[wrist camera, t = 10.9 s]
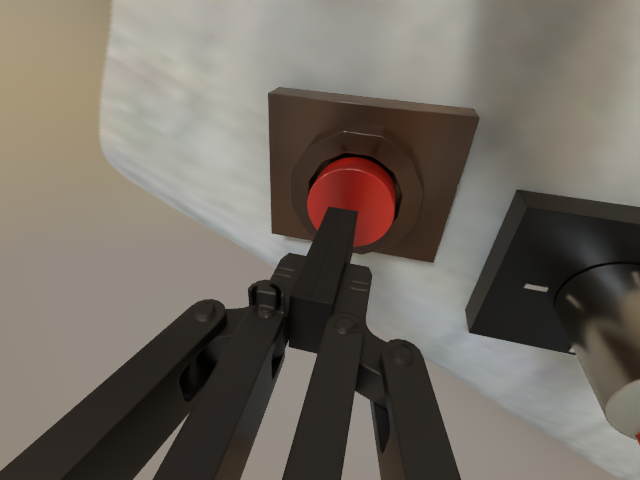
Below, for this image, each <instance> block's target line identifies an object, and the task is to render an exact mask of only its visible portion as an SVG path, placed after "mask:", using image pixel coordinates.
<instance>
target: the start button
mask: <svg viewBox="0 0 640 480" xmlns="http://www.w3.org/2000/svg"><path fill="white" fill-rule="evenodd" d="M395 205H396V190H395V186H394V183H393V181H392V179H391V177H390V176H389V174H388V173H387V172H386V171H385V170H384V169H383V168H382V167H381V166H379V165H378V164H376V163H374V162H372V161H370V160H367V159H364V158H359V157H347V158H342V159H339V160H336V161H334V162H332V163H330V164H329V165H328V166H326V167H325V168H324V169H323V170H322V172H321V173H320V174H319V176H318V178H317V179H316V181H315V183H314V184H313V186H312V188H311V190H310V192H309V195H308V201H307V208H308V213H309V217H310V219H311V221H312V223H313V225H314V227H315V228H316V229H317V230H318V229H319V226H320V224H321V222H322V220H323V217H324V215H325V213H326V210H327V208H328V206H329V207H336V208H342V209H348V210H354V211H358V216H357V223H356V230H355V237H354V243H353V247H356V246H364V245H368V244H371V243H373V242H375V241H377V240H378V239H380V238H381V237H382V236H383V235H384V234H385V233H386V232H387V231H388V230H389V228H390V227H391V225H392V222H393V219H394V214H395Z"/></svg>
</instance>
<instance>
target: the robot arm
mask: <svg viewBox="0 0 640 480" xmlns="http://www.w3.org/2000/svg"><path fill="white" fill-rule="evenodd" d="M357 216H358V211H354V210H348V209H342V208H336V207H329V206H328V208H327V210H326V213H325V215H324V217H323V220H322V222H321V224H320V226H319V229H318V231H317V233H316V236H315V238H314V240H313V242H312V245H311V247H310V249H309V252H308V254H307V256H303V255H298V254H292V253H289V254H287V255H286V256H284V257H283V258H282V259H281V260H280V262H279V264H278V266H277V268H276V269H275V271H274V274H273V275H272V277H271V279H270V280H262V281H258V282H256V283H254V284H252V285H251V286H250V287H249V288H248V296H249V306H248V307H245V308H239V309H225V307H224V305H223V304H222V303H221V302H219V301H217V300H213V299H208V300H202V301H199V302H197V303H195V304H194V305H192V306H191V307H190V308H188V309H187V310H186V311H185V312H184V313H183V314H182V315H180V316H179V317H178V318H177V319H176V320H175V321H174V322H172V323H171V324H170V325H169V326H168V327H167V328H166V329H164V330H163V331H162V332H161V333H160V334H158V335H157V336H156V337H155V338H154V339H153V340H152V341H150V342H149V343H148V344H147V345H146V346H145V347H144V348H142V349H141V350H140V351H139V352H138V353H136V355H134V356H133V357H132V358H131V359H130V360H128V361H127V362H126V363H125V364H124V365H123V366H121V367H120V368H119V369H118V370H117V371H116V372H115V373H113V374H112V375H111V376H110V377H109V378H108V379H106V380H105V381H104V382H103V383H102V384H101V385H99V386H98V387H97V388H96V389H95V390H94V391H93V392H91V393H90V394H89V395H88V396H87V397H86V398H84V399H83V400H82V401H81V402H80V403H79V404H78V405H76V406H75V407H74V408H73V409H72V410H71V411H70V412H68V413H67V414H66V415H65V416H64V417H63V418H61V419H60V420H59V421H58V422H57V423H56V424H54V425H53V426H52V427H51V428H50V429H49V430H47V431H46V432H45V433H44V434H43V435H42V436H41V437H39V438H38V439H37V440H36V441H35V442H34V443H32V444H31V445H30V446H29V447H28V448H27V449H26V450H24V451H23V452H22V453H21V454H20V455H19V456H17V457H16V458H15V459H14V460H13V461H12V462H11V463H9V464H8V465H7V466H6V467H5V468H4V469H2V470H1V471H0V480H133V479H134V478H135V476H136V475H137V474H138V473H139V472H140V470H141V469H142V468H143V467H144V466H145V464H146V463H147V462H148V461H149V460H150V459H151V457H152V456H153V455H154V454H155V453H156V452H157V450H158V449H159V448H160V447H161V446H162V444H163V443H164V442H165V441H166V440H167V438H168V437H169V436H170V435H171V434H172V433H173V431H174V430H175V429H176V428H177V427H178V425H179V424H180V423H181V422H182V421H183V420H184V418H185V417H186V416H187V415H188V414H189V415H188V417H187V419H186V420H185V422H184V424H183V426H182V428H181V429H180V431H179V433H178V435H177V437H176V438H175V440H174V442H173V444H172V446H171V448H170V449H169V451H168V453H167V455H166V456H165V458H164V460H163V462H162V464H161V465H160V467H159V469H158V471H157V473H156V474H155V476H154V478H153V480H240V478H241V476H242V473H243V470H244V468H245V465H246V462H247V459H248V457H249V454H250V451H251V448H252V446H253V443H254V440H255V438H256V435H257V432H258V430H259V427H260V424H261V421H262V418H263V416H264V413H265V410H266V408H267V405H268V402H269V400H270V397H271V394H272V392H273V389H274V386H275V383H276V380H277V378H278V375H279V372H280V370H281V367H282V364H283V361H284V357H285V348H286V345H287V343H288V340H289V347H291V348H296V349H300V350H304V351H308V352H313V353H317V358H316V361H315V365H314V368H313V372H312V375H311V379H310V383H309V386H308V390H307V393H306V397H305V400H304V404H303V407H302V411H301V414H300V418H299V421H298V425H297V428H296V432H295V436H294V440H293V443H292V446H291V450H290V453H289V457H288V460H287V464H286V467H285V471H284V474H283V478H282V480H341V476H342V469H343V463H344V456H345V450H346V444H347V437H348V431H349V425H350V418H351V412H352V405H353V399H354V393H355V391H356V392H358V393H360V394H361V395H363V396H364V397H366V398H368V399H370V404H371V411H372V419H373V425H374V433H375V440H376V447H377V454H378V461H379V468H380V476H381V480H461V478H460V475H459V472H458V468H457V465H456V462H455V458H454V455H453V452H452V449H451V446H450V442H449V439H448V436H447V433H446V430H445V426H444V423H443V420H442V416H441V414H440V410H439V407H438V404H437V400H436V397H435V394H434V391H433V388H432V384H431V381H430V378H429V375H428V371H427V368H426V365H425V362H424V358H423V356H422V354H421V352H420V350H419V349H418V348H417V347H416V346H415V345H414V344H412V343H410V342H408V341H406V340H401V339H395V340H390V341H389V342H385V341H383V340H381V339H379V338H378V337H376V336H375V335H373V334H372V333H371V332H370V330H369V329H368V327H367V325H366V313H367V306H368V300H369V293H370V287H371V280H372V274H371V272H370V269H369V267H366V266H360V265H355V264H350V261H351V257H352V250H353V243H354V237H355V230H356V223H357Z"/></svg>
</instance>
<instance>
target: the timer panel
mask: <svg viewBox="0 0 640 480" xmlns="http://www.w3.org/2000/svg"><path fill="white" fill-rule="evenodd" d="M610 264H635V265H640V207H633V206H626V205H619V204H612V203H605V202H599V201H592V200H585V199H578V198H571V197H564V196H557V195H550V194H543V193H537V192H530V191H523V190H517V191H516V194H515V196H514V198H513V201H512V203H511V205H510V208H509V210H508V212H507V214H506V217H505V219H504V221H503V224H502V226H501V228H500V231H499V233H498V235H497V238H496V240H495V242H494V245H493V247H492V249H491V252H490V254H489V256H488V258H487V261H486V263H485V265H484V268H483V270H482V272H481V275H480V277H479V279H478V282H477V284H476V286H475V289H474V291H473V293H472V295H471V298H470V300H469V302H468V305H467V307H466V309H465V311H466V317H467V323H468V329H469V333H473V334H477V335H482V336H487V337H492V338H496V339H501V340H506V341H511V342H515V343H520V344H525V345H530V346H534V347H539V348H544V349H549V350H553V351H558V352H563V353H568V354H572V355H576V354H575V351H574V349H573V347H572V345H571V343H570V341H569V339H568V337H567V335H566V332H565V330H564V328H563V326H562V324H561V322H560V320H559V318H558V316H557V313H556V310H555V300H556V297H557V294H558V293H559V291H560V290H561V288H562V287H563V286H564V285H565V284H566V283H567V282H568V281H569V280H571V279H572V278H574V277H575V276H577V275H579V274H580V273H583V272H585V271H587V270H590V269H592V268H596V267H599V266H604V265H610Z"/></svg>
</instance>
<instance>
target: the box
mask: <svg viewBox="0 0 640 480" xmlns="http://www.w3.org/2000/svg"><path fill="white" fill-rule="evenodd" d="M268 101H269V142H270V182H271V222H272V233H273V234H278V235H284V236H289V237H295V238H300V239H305V240H311V241H313V240H314V238H315V236H316V233H317V231H318V230H317V229H316V228H315V227H314V225H313V223H312V221H311V219H310V217H309V213H308V208H307V201H308V195H309V192H310V190H311V188H312V186H313V184H314V183H315V181H316V179H317V178H318V176H319V174H320V173H321V172H322V170H323V169H324V168H325V167H326V166H328V165H329V164H330V163H332V162H334V161H336V160H339V159H342V158H347V157H359V158H364V159H367V160H370V161H372V162H374V163H376V164H378V165H379V166H381V167H382V168H383V169H384V170H385V171H386V172H387V173H388V174H389V176H390V177H391V179H392V181H393V183H394V186H395V190H396V205H395V214H394V219H393V222H392V225H391V227H390V228H389V230H388V231H387V232H386V233H385V234H384V235H383V236H382V237H381V238H380V239H378V240H377V241H375V242H373V243H371V244H368V245H364V246H356V247H353V250H352V253H357V254H366V253H369V252H376V253H382V254H387V255H393V256H398V257H404V258H409V259H415V260H420V261H426V262H431V263H433V262H434V259H435V256H436V252H437V249H438V246H439V243H440V240H441V237H442V234H443V231H444V227H445V224H446V221H447V218H448V215H449V212H450V209H451V206H452V202H453V199H454V196H455V193H456V190H457V187H458V184H459V181H460V177H461V174H462V171H463V168H464V165H465V162H466V159H467V156H468V152H469V149H470V146H471V143H472V140H473V137H474V134H475V131H476V127H477V124H478V121H479V116H478V115H477V113H476V111H475V110H474V109H468V108H459V107H450V106H441V105H432V104H424V103H415V102H406V101H397V100H388V99H379V98H370V97H362V96H353V95H344V94H335V93H326V92H317V91H308V90H300V89H291V88H282V87H279V88H277V89H275V90H273V91H271V92H270V93H268Z"/></svg>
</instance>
